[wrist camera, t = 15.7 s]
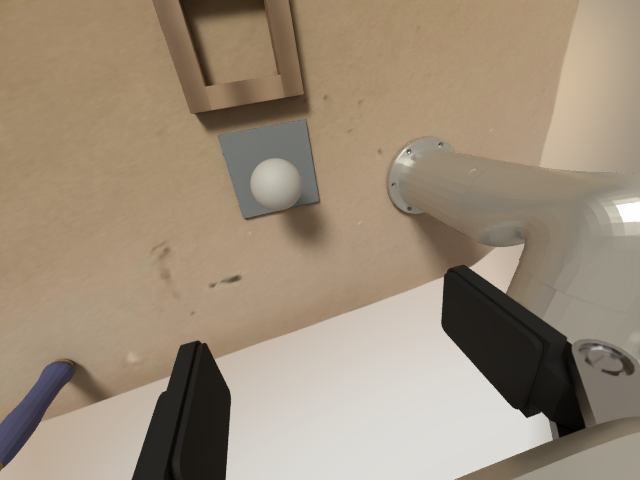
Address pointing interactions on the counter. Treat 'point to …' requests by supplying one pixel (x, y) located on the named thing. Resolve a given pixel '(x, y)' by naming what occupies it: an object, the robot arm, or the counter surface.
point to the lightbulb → (276, 184)
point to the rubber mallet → (32, 409)
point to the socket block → (240, 91)
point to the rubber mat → (262, 145)
